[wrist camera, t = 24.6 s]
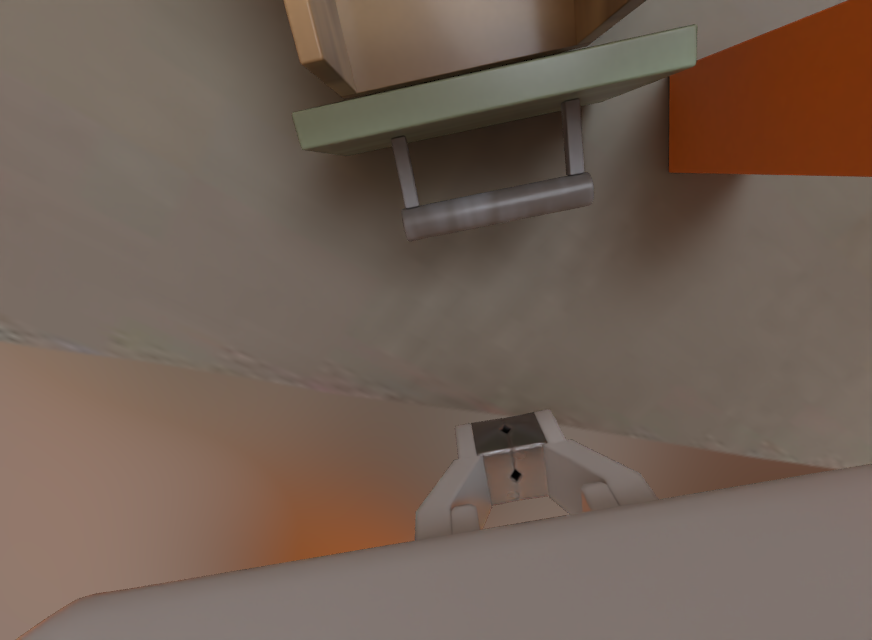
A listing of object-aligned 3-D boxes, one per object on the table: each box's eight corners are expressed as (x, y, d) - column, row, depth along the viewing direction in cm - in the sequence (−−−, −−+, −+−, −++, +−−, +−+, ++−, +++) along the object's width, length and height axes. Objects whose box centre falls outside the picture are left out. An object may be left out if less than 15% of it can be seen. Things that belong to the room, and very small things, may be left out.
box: (764, 50, 21) (1164, -89, 9) (756, 155, 22) (1086, 142, 11) (668, 71, 21) (948, -41, 10) (668, 172, 23) (904, 178, 11)
